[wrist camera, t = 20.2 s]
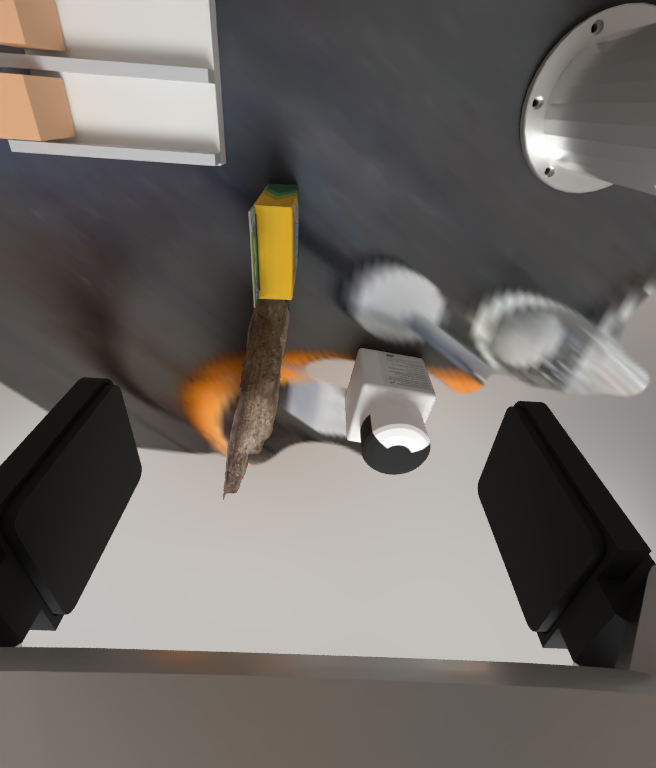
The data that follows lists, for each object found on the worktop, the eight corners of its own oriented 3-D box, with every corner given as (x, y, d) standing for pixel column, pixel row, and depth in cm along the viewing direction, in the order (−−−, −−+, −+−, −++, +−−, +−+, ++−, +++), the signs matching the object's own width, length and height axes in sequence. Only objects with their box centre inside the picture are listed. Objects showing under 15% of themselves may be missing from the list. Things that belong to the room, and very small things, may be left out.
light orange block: (62, 78, 31) (22, 74, 27) (76, 136, 33) (41, 141, 29) (21, 75, 31) (-25, 71, 27) (38, 133, 33) (-2, 137, 29)
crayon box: (299, 263, 41) (290, 311, 32) (270, 262, 41) (251, 309, 32) (300, 184, 37) (290, 212, 28) (267, 182, 37) (246, 209, 28)
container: (403, 409, 52) (423, 488, 41) (344, 399, 51) (347, 478, 40) (423, 357, 48) (450, 431, 37) (358, 346, 47) (367, 418, 36)
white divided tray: (207, -104, 27) (191, -132, 24) (226, 162, 36) (215, 168, 33) (-38, -126, 27) (-89, -159, 24) (42, 149, 36) (12, 154, 32)
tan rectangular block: (49, -19, 28) (2, -40, 24) (66, 52, 30) (25, 44, 26) (5, -23, 28) (-50, -44, 24) (24, 48, 30) (-23, 40, 26)
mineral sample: (260, 287, 43) (232, 364, 30) (298, 297, 43) (286, 375, 31) (239, 410, 52) (211, 507, 40) (270, 416, 53) (253, 514, 40)
